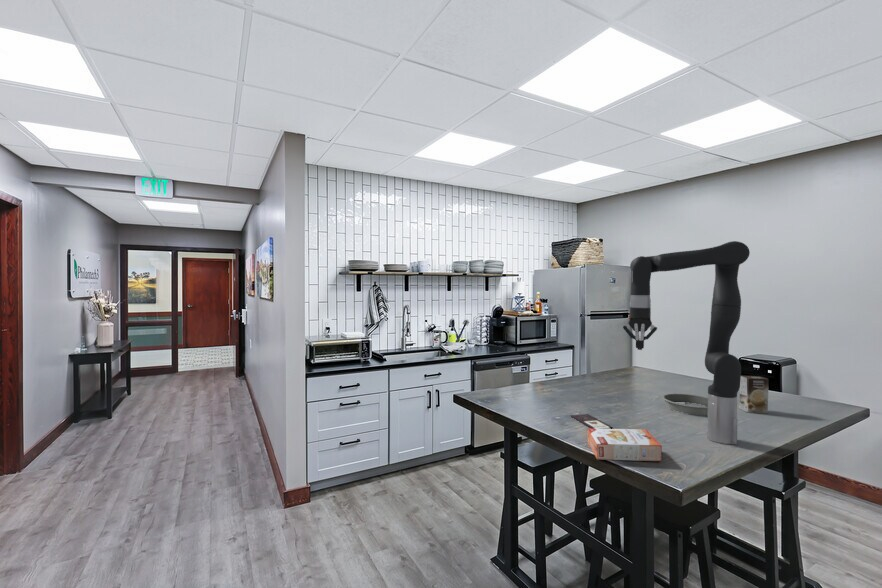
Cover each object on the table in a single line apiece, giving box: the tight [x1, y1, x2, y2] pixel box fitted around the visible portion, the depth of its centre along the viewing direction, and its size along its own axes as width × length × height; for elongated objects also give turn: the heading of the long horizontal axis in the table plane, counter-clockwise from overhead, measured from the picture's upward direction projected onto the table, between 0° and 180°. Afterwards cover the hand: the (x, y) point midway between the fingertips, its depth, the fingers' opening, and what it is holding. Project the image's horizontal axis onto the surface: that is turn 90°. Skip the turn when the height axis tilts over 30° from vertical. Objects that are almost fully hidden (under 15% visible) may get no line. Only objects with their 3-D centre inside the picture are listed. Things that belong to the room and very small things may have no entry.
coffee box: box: [738, 375, 770, 414], centre depth 195 cm, size 9×6×16 cm
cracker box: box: [587, 427, 663, 462], centre depth 145 cm, size 14×6×21 cm
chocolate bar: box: [569, 413, 614, 429], centre depth 178 cm, size 9×1×18 cm
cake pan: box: [662, 393, 708, 416], centre depth 199 cm, size 25×25×4 cm
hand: (639, 349), depth 167 cm, fingers closed
